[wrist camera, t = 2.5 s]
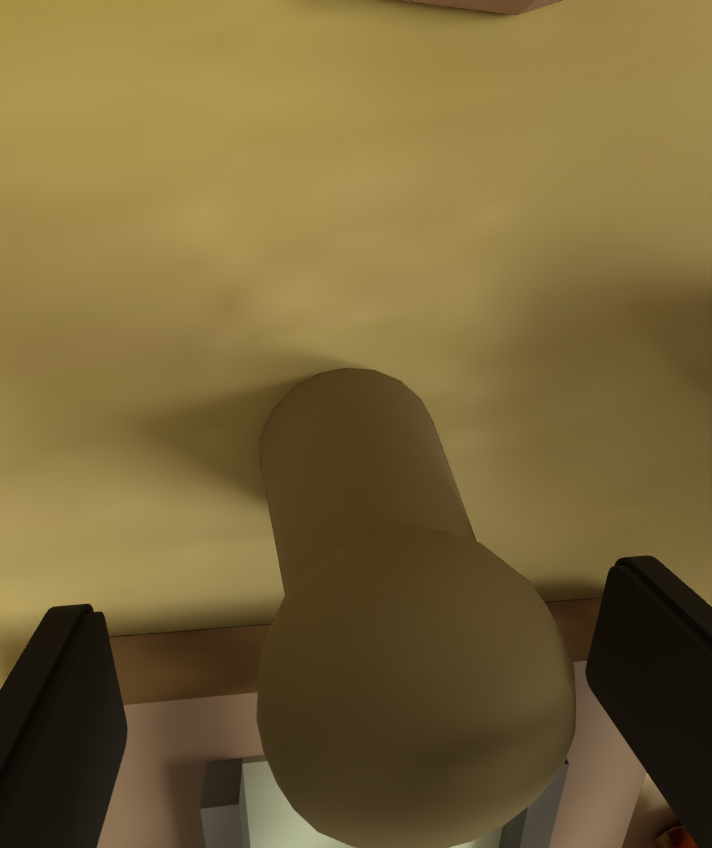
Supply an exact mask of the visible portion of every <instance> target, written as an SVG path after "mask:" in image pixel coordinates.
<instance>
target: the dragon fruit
mask: <svg viewBox="0 0 712 848" xmlns="http://www.w3.org/2000/svg"><path fill="white" fill-rule="evenodd" d="M655 843H656V847H657V848H698V846H697V845H696V844H695V842H694V841H693V839H692V838H691V836H690V835H689V833H688V832H687V830H686V829H685V827H684V826H677V827H673V828H671V829H669V830H667V831H665V832H664V833H662V834H660V836H658V837H657V838H656V839H655Z"/></svg>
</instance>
